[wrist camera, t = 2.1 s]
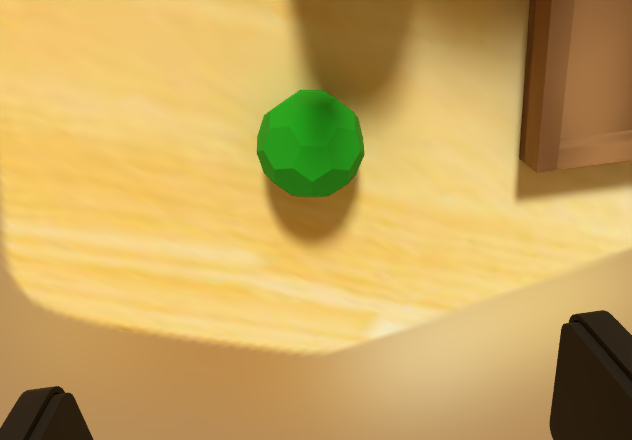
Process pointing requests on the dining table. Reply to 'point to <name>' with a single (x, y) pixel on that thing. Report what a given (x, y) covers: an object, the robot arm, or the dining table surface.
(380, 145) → the dining table surface
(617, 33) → the tray
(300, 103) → the polyhedron
